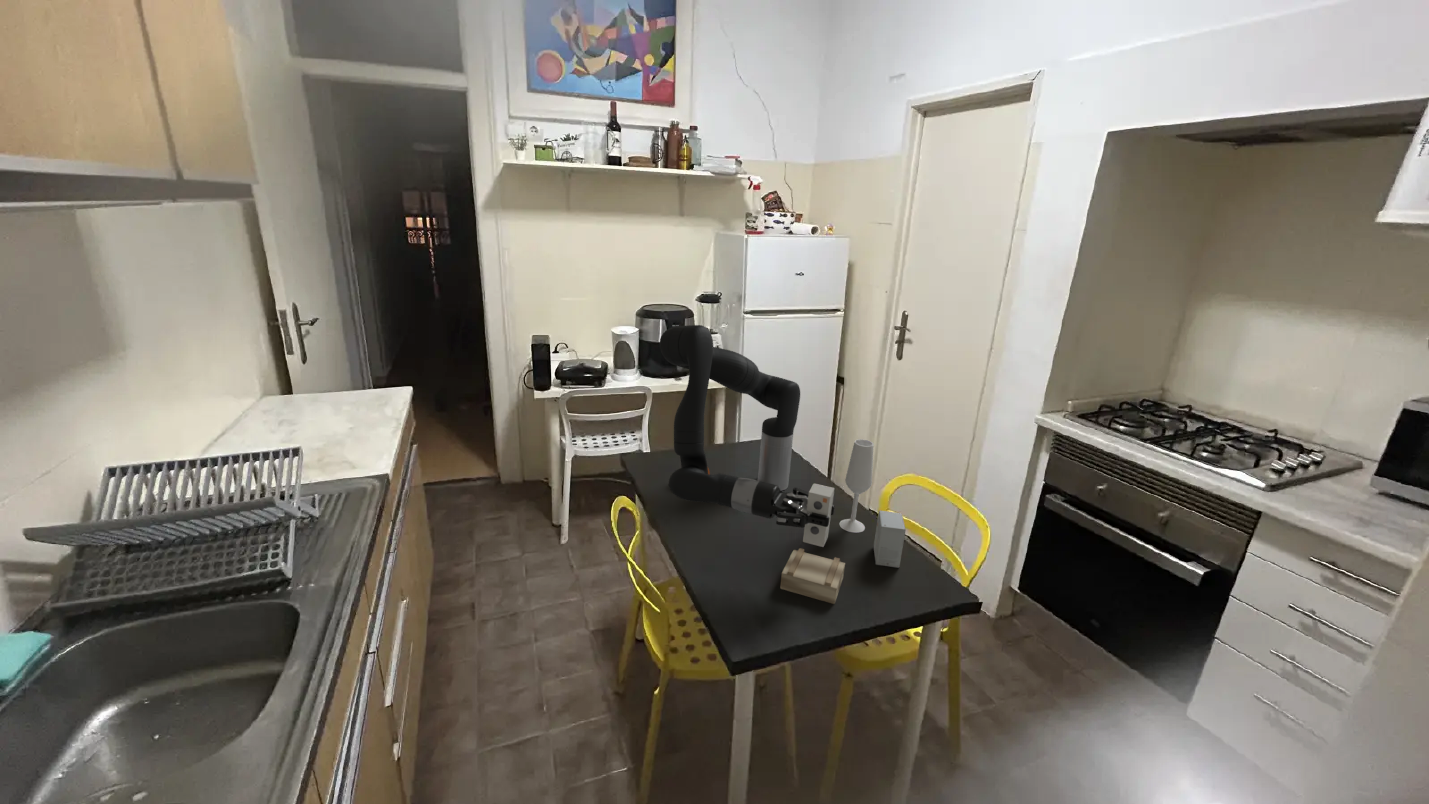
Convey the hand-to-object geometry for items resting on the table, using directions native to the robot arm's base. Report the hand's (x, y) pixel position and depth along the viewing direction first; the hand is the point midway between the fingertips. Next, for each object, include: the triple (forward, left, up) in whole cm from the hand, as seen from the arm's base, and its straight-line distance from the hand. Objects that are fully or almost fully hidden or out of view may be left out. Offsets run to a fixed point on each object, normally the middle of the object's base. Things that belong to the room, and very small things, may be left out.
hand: (831, 516), depth 121 cm
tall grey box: (0, -3, -6) cm, 7 cm away
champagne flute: (-29, +2, -18) cm, 34 cm away
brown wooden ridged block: (0, -2, -18) cm, 18 cm away
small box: (-18, +12, -18) cm, 28 cm away
